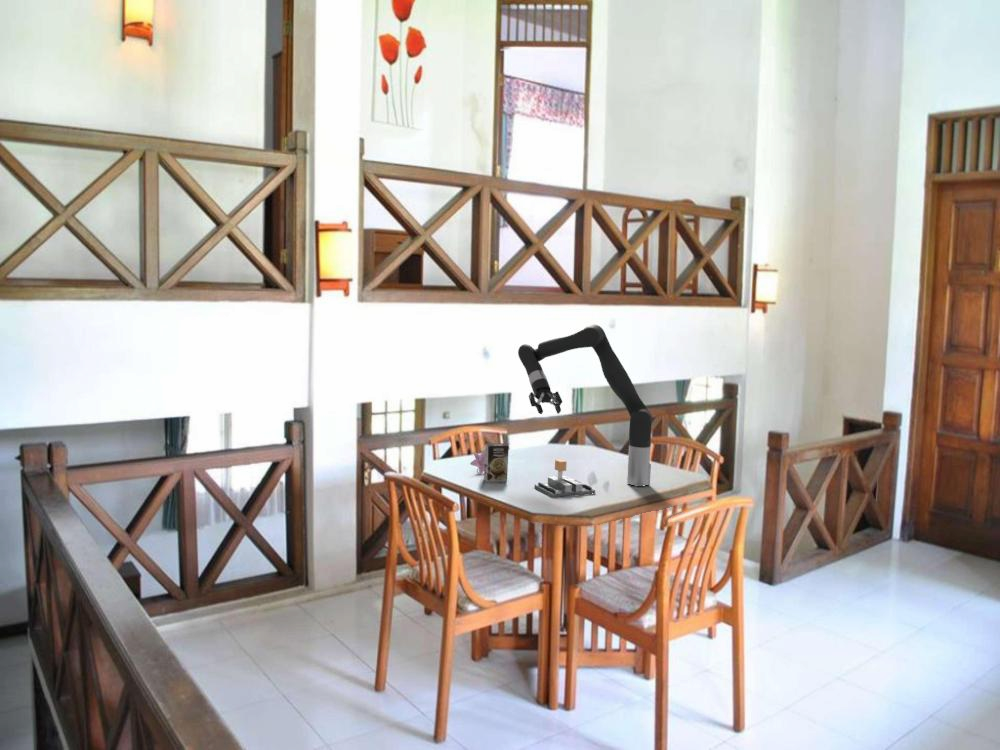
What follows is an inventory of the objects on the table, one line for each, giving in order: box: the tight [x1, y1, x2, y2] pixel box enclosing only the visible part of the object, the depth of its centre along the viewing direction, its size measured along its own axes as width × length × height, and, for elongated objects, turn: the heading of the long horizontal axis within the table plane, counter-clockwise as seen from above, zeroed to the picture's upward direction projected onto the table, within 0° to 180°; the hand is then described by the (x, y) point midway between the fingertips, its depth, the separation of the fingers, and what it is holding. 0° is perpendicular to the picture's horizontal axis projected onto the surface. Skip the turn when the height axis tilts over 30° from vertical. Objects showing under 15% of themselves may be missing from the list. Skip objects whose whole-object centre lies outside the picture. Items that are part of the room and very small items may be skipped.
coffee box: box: [483, 442, 509, 484], centre depth 357 cm, size 9×6×16 cm
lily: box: [469, 449, 485, 475], centre depth 373 cm, size 12×12×10 cm
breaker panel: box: [533, 475, 596, 498], centre depth 344 cm, size 20×16×4 cm
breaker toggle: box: [554, 459, 567, 480], centre depth 348 cm, size 3×4×10 cm
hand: (550, 412), depth 355 cm, fingers open, 8 cm apart
